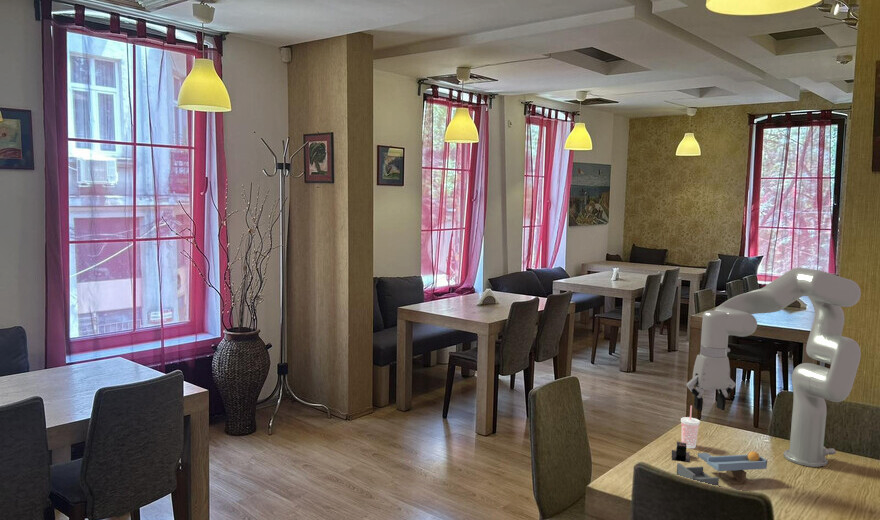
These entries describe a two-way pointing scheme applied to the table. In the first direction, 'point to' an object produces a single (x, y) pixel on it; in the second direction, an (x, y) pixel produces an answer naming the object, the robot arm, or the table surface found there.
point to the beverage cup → (689, 430)
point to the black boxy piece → (681, 453)
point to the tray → (696, 474)
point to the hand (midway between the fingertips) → (709, 408)
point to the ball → (753, 456)
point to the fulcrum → (736, 477)
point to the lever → (733, 462)
